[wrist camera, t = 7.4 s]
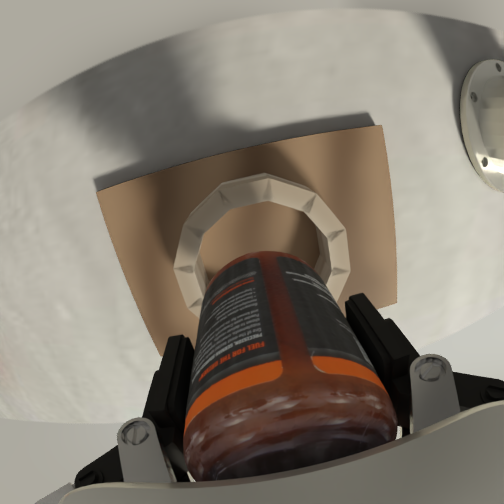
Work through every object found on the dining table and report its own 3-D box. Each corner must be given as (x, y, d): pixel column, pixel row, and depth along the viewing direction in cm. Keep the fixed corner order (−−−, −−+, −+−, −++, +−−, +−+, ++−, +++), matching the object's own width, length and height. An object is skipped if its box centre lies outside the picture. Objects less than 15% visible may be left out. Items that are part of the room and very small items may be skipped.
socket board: (375, 125, 19) (403, 123, 15) (392, 297, 24) (413, 322, 20) (101, 189, 20) (75, 201, 16) (162, 349, 25) (153, 380, 21)
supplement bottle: (186, 331, 15) (146, 555, 4) (231, 225, 13) (224, 495, 3) (291, 364, 16) (335, 561, 5) (347, 273, 14) (484, 474, 4)
